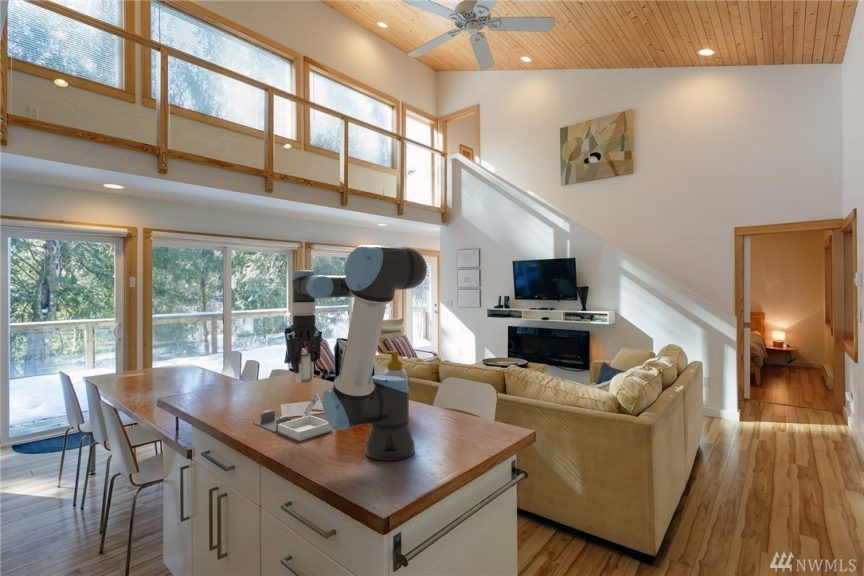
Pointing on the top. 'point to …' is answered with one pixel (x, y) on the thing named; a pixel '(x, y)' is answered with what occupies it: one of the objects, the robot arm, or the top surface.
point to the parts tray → (304, 428)
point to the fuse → (306, 366)
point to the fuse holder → (271, 420)
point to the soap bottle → (395, 366)
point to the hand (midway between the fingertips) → (304, 380)
